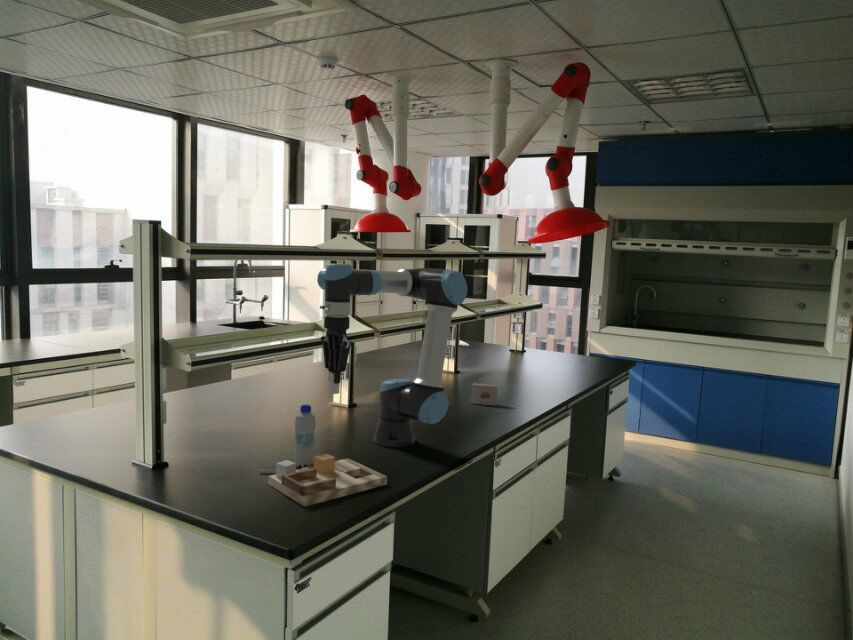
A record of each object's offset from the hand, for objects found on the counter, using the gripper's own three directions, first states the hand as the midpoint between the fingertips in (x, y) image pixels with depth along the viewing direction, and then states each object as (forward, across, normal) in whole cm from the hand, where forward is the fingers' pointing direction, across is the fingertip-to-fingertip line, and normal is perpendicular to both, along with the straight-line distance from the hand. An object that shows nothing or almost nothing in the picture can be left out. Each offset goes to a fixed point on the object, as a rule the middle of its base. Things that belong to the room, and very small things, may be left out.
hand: (334, 393), depth 195 cm
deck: (+26, +4, -4) cm, 27 cm away
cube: (+24, 0, -2) cm, 24 cm away
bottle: (+27, -14, -1) cm, 30 cm away
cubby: (+24, +7, -12) cm, 28 cm away
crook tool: (+27, -11, -12) cm, 32 cm away
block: (+24, -3, -14) cm, 28 cm away
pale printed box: (+27, -39, +112) cm, 122 cm away
